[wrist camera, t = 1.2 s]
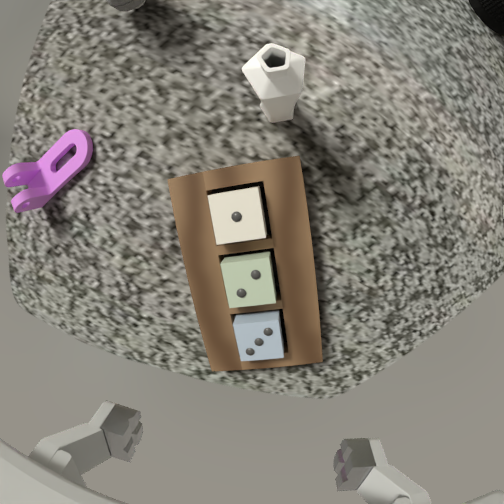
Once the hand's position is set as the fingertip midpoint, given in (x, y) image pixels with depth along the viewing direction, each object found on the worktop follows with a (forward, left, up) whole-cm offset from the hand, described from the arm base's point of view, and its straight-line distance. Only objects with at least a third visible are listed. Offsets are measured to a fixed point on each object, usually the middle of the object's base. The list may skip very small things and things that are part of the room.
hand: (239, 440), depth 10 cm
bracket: (+26, -17, -26) cm, 41 cm away
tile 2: (+2, +1, -24) cm, 24 cm away
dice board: (+2, +1, -26) cm, 26 cm away
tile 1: (+2, -6, -24) cm, 25 cm away
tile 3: (+2, +8, -24) cm, 25 cm away
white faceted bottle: (-4, -17, -26) cm, 31 cm away
